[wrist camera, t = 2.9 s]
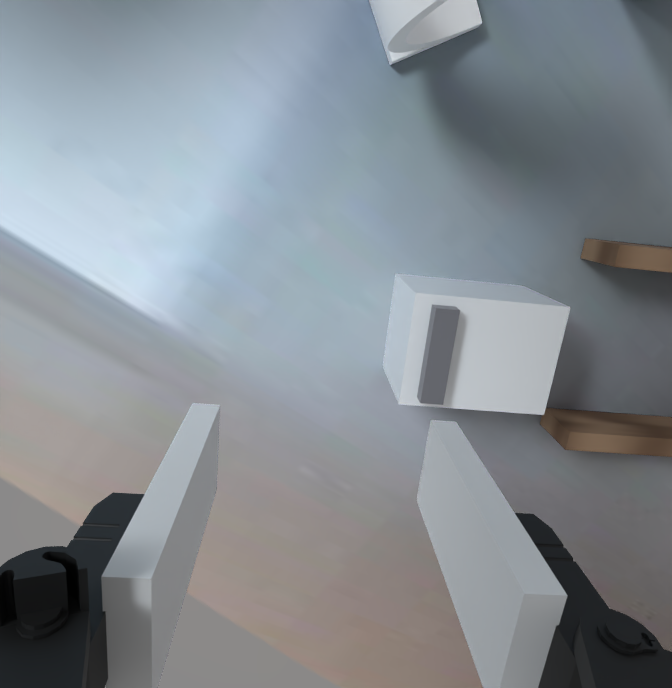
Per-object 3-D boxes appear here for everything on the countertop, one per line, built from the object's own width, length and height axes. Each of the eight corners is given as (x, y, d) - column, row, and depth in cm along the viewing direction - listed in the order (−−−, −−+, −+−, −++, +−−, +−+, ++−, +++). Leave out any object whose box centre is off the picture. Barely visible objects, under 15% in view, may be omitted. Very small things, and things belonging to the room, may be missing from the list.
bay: (539, 423, 34) (565, 449, 30) (585, 238, 30) (620, 244, 27) (702, 435, 35) (744, 461, 31) (764, 257, 31) (819, 265, 28)
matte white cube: (382, 365, 32) (401, 410, 26) (395, 272, 30) (419, 296, 24) (502, 375, 33) (550, 421, 26) (521, 285, 31) (579, 310, 25)
